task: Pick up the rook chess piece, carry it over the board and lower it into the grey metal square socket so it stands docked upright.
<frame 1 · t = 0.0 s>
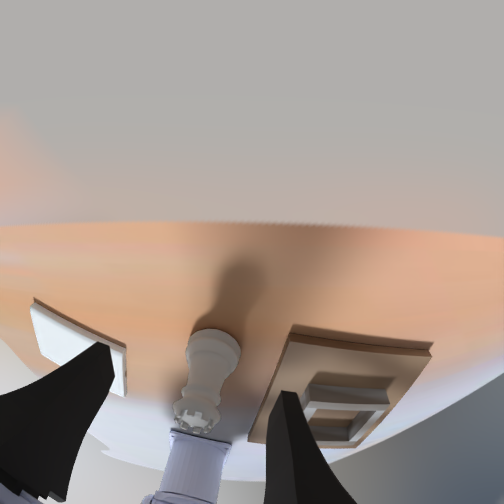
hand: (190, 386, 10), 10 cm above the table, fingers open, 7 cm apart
rook chess piece: (215, 344, 22), on the table
external hard drive: (81, 346, 25), on the table
socket board: (331, 404, 24), on the table
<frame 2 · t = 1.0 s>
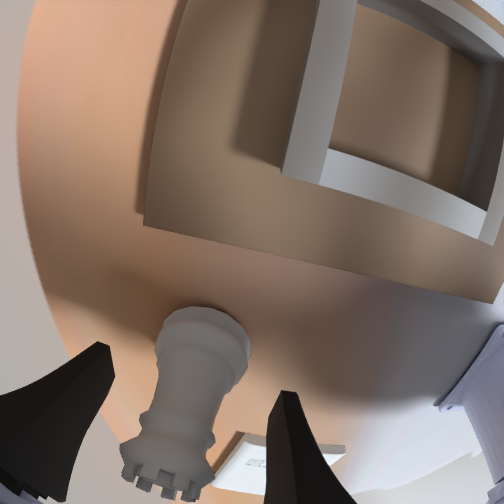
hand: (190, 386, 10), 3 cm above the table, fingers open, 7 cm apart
rook chess piece: (207, 335, 13), on the table
external hard drive: (269, 461, 20), on the table
socket board: (402, 98, 8), on the table
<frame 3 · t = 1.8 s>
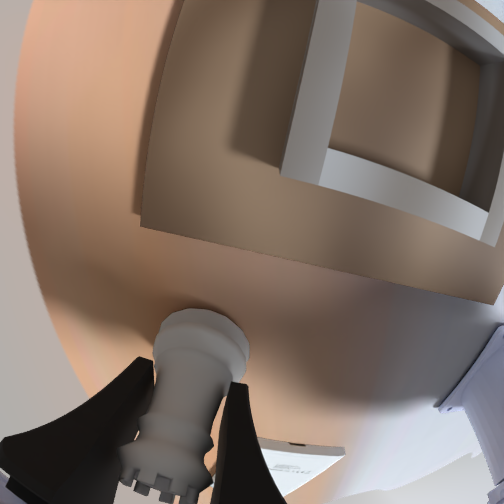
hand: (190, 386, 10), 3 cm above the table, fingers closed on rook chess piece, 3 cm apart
rook chess piece: (205, 338, 13), on the table, touching gripper
external hard drive: (269, 463, 20), on the table
socket board: (403, 97, 8), on the table
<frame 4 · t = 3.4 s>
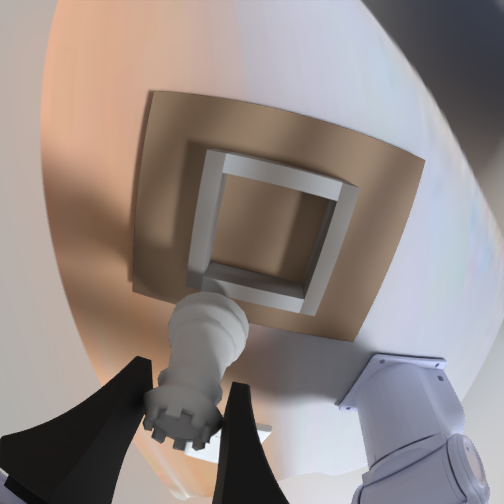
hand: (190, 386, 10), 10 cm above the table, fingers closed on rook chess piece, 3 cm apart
rook chess piece: (211, 320, 16), point 4 cm above the table, touching gripper
external hard drive: (223, 435, 29), on the table
socket board: (268, 224, 18), on the table
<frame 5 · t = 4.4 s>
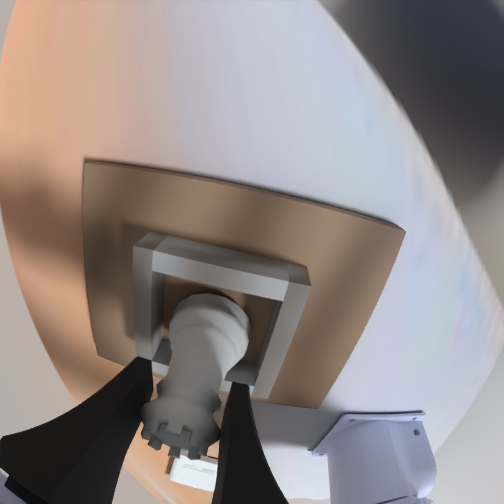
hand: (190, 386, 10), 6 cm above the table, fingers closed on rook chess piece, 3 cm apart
rook chess piece: (213, 320, 15), point 1 cm above the table, touching gripper, socket board
external hard drive: (204, 467, 27), on the table
socket board: (218, 304, 16), on the table
when the fingers open (5 cm above the table, at t = 5.0 s): rook chess piece stays where it is, resting on socket board.
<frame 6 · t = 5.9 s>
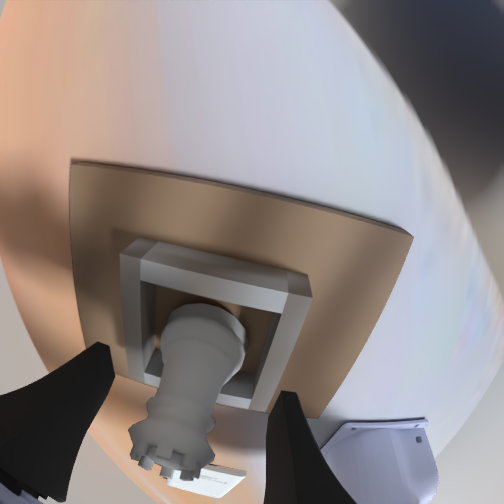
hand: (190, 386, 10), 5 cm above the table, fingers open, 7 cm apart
rook chess piece: (208, 330, 14), point 1 cm above the table, touching socket board
external hard drive: (202, 472, 27), on the table
socket board: (213, 313, 15), on the table
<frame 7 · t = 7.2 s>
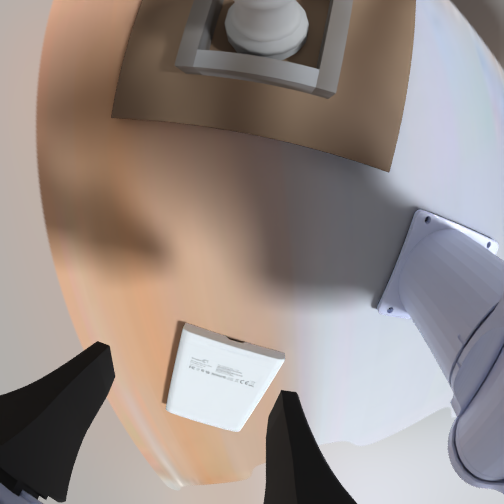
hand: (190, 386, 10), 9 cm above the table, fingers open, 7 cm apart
rook chess piece: (267, 32, 12), point 1 cm above the table, touching socket board
external hard drive: (218, 378, 24), on the table
socket board: (270, 29, 12), on the table
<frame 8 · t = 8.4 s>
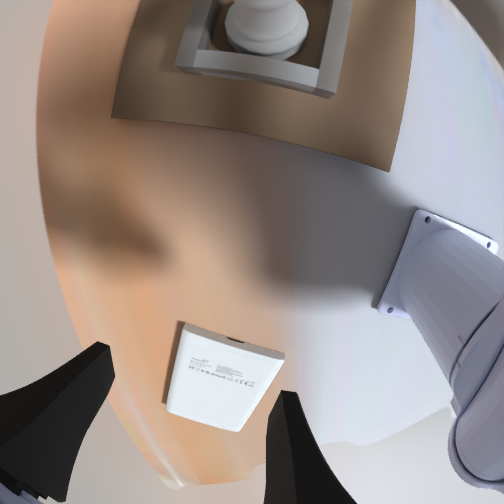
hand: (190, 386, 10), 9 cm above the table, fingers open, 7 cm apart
rook chess piece: (267, 32, 12), point 1 cm above the table, touching socket board
external hard drive: (218, 378, 24), on the table
socket board: (270, 29, 12), on the table
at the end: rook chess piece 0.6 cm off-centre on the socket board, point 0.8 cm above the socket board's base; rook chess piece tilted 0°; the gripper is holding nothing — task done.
